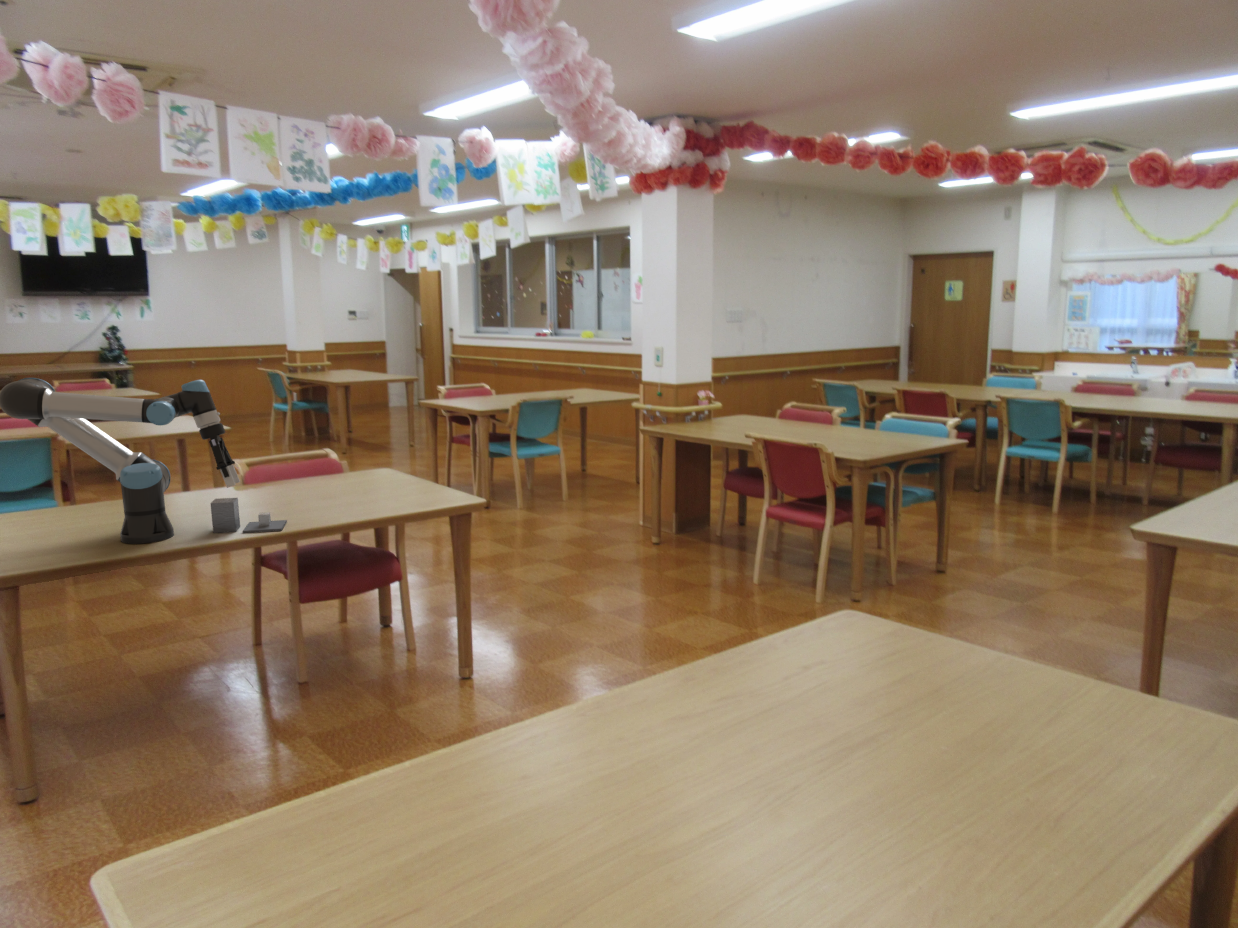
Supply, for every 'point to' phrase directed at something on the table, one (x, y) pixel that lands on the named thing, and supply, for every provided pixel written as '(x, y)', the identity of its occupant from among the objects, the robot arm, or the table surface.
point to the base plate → (265, 527)
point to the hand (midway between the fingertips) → (233, 484)
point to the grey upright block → (225, 515)
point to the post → (264, 519)
